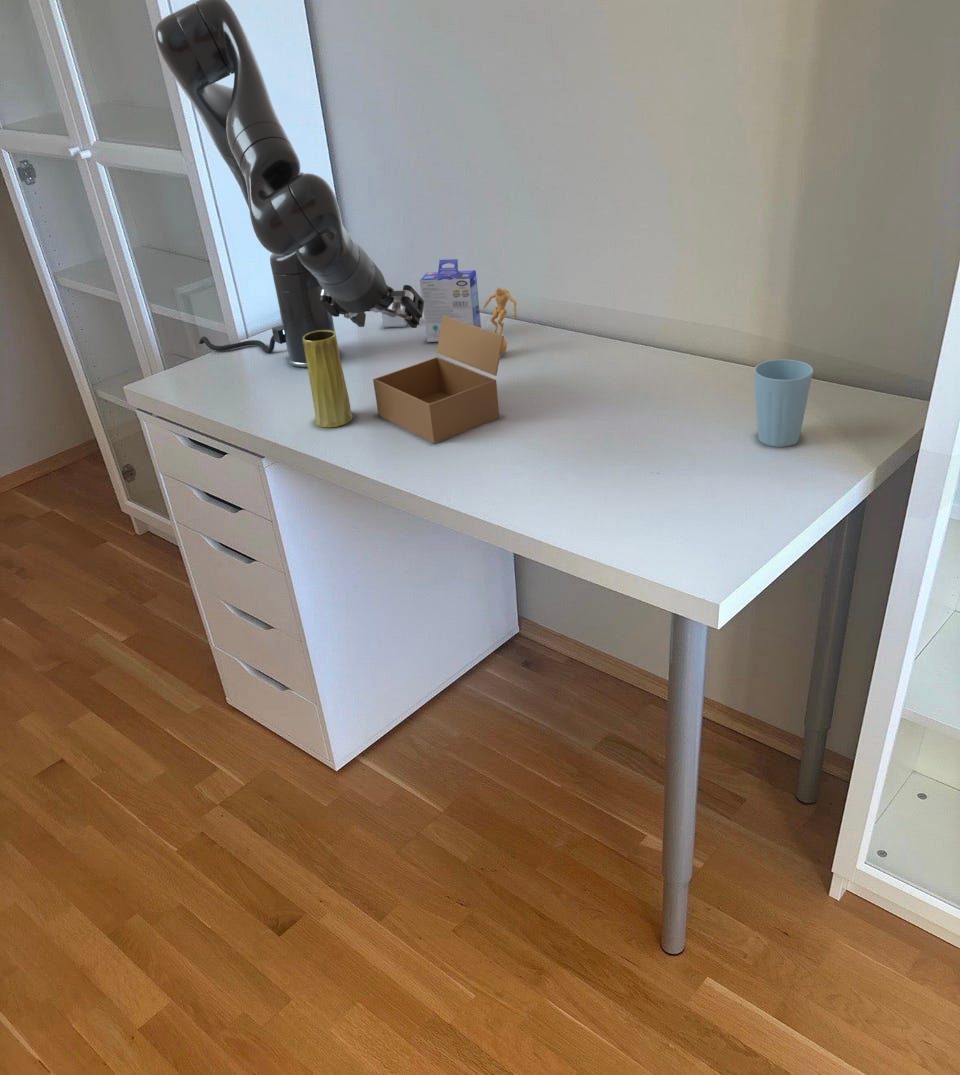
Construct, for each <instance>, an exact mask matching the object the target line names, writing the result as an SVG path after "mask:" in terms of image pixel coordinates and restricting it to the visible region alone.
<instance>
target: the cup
mask: <svg viewBox="0 0 960 1075" xmlns="http://www.w3.org/2000/svg"><path fill="white" fill-rule="evenodd" d="M753 373H754V387H755V388H754V390H755V404H756V420H757V422H756V423H757V434H758V435H757V436H758V440H759V442H761V443H762V444H763V445H766V446H769V447H773V448H774V447H775V448H776V447H777V448H784V447H790V446H793V445H795V444H797V443H798V442H799V440H800V438H801V432H802V427H803V422H804V418H805V412H806V408H807V403H808V397H809V393H810V389H811V385H812V384H811V383H812V378H813V374H814V368H813V367H812V365H810V364H809V363H807V362H804V361H801V360H797V359H785V358H784V359H783V358H782V359H778V358H777V359H771V360H770V359H769V360H766V361H762V362H761V363H758V364H756V365H755V367H754V369H753Z"/></svg>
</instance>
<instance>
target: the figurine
mask: <svg viewBox="0 0 960 1075" xmlns="http://www.w3.org/2000/svg"><path fill="white" fill-rule="evenodd" d="M494 298H495V302H496V305H497V306H495V307H494V308H493V309H494V310H493V313H492V314H491V317H490V318H489V320H490V322H491V323H492V324H493V325H494V329H493V331H492V332H494V333H497V334H500V335H503V334H502V333H503V331H504V326H505V325H504V322H503V321H504V320H505V317H506V315H507V313H508V311H507V309H506V306H507V303H508V301H510V302H511V303H512V304H513V314H512V315H511V317H512V320H514V321H516V319H517V301H516V299H515V298H513V296H511V294H510V291H509V289H506V288H501V287H497V288H496V289H495V293H493V294H490V296H489V297H488V299H487V301H485V303H484V305H483V307H482V310H481V313H483V312H484V309H485V308H486V307H487V306H488V305H489V303H490V302H491V300H492V299H494ZM496 319H497V320H496ZM499 326H500V329H499V331H498V327H499ZM497 331H498V332H497ZM507 348H508V343H507V340H506V338H505V337H504V339H503V345H502V350H501V355H500V357H501V356H503V355H504V354H505V352H506V351H507Z"/></svg>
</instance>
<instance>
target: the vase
mask: <svg viewBox="0 0 960 1075" xmlns="http://www.w3.org/2000/svg"><path fill="white" fill-rule="evenodd" d="M337 339H338V338H337V333H336V331H335V332H334V331H332V330H317V331H313V332H309V333H307V334H305V335H304V336H303V345H304V351H305V356H306V362H307V367H306V368H307V371H308V378H309V384H310V390H311V397H312V404H313V410H314V422H315V424H316V426H318V427H321V428H337V427H338V428H339V427H341V426H345V425H347V424H349V423H350V422H351V421H352V420H353V418H354V417H353V416H354V414H353V412H352V408H351V402H350V397H349V392H348V388H347V384H346V379H345V374H344V370H343V365H342V360H341V356H340V350H339V345H338V340H337Z"/></svg>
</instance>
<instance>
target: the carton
mask: <svg viewBox="0 0 960 1075" xmlns="http://www.w3.org/2000/svg"><path fill="white" fill-rule="evenodd" d="M372 382H373V389H374V395H375V396H374V397H375V401H376V408H377V415H378V417H380V418H382V419H384V420H386V421H388V422H390V423H391V424H394V425H396V426H398V427H400V428H402V429H404V430H406V431H408V432H410V433H412V434H414V435H415V436H418V437H420V438H421V439H424V440H426V441H427V442H430V443H432V444H434V445H435V444H437V443H439V442H443V441H444V440H448V439H450V438H451V437H455V436H457V435H459V434H462V433H465V432H467V431H469V430H472V429H474V428H476V427H477V428H478V427H479V426H482V425H484V424H487V423H489V422H492V421H494V420H497V419H499V418H500V409H499V397H498V386H497V385H498V384H497V379H495V378H492V377H490V376H487V375H485V374H482V373H480V372H478V371H475V370H472V369H469V368H467V367H464V366H463V365H459V364H456V363H454V362H452V361H449V360H446V359H444V358H441V357H439V356H436V357H433V358H430V359H427V360H423V361H421V362H419V363H416V364H415V363H414V364H412V365H410V366H407V367H404V368H401V369H398V370H396V371H395V370H394V371H393V372H389V373H386V374H384V375H381V376H378V377H376V378H372Z"/></svg>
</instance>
